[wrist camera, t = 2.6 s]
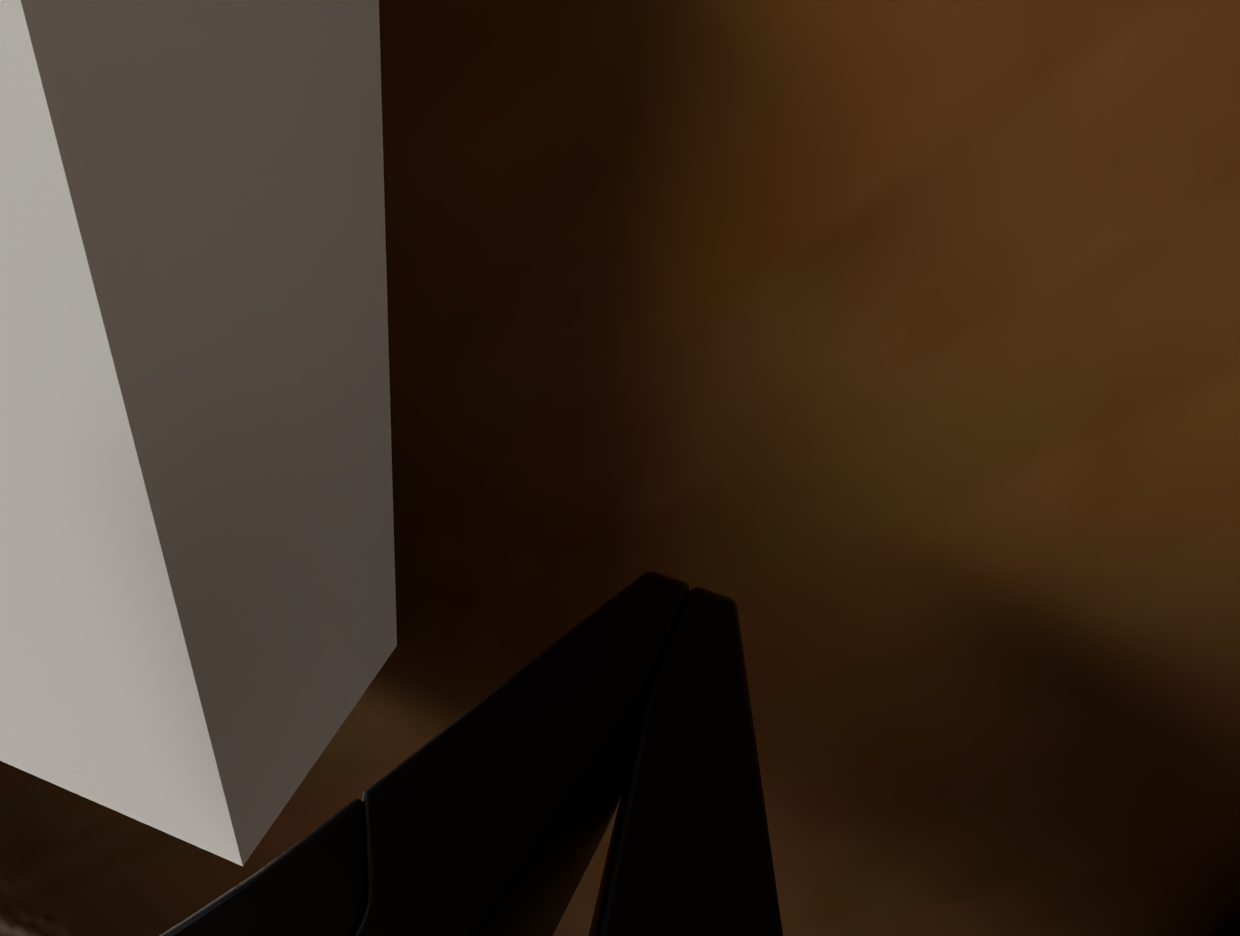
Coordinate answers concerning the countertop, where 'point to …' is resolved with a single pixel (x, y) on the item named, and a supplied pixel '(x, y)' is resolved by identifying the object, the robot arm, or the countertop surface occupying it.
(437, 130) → the countertop surface
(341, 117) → the t block
